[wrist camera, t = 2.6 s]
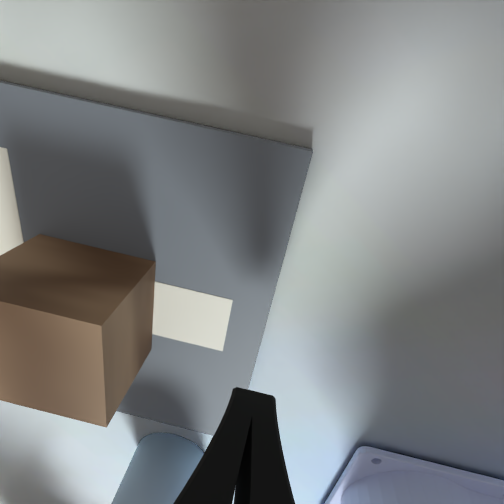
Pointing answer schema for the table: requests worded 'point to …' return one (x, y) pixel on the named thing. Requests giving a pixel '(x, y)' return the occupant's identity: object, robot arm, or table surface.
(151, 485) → the blue cylinder
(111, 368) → the walnut block
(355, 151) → the table surface
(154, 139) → the board
